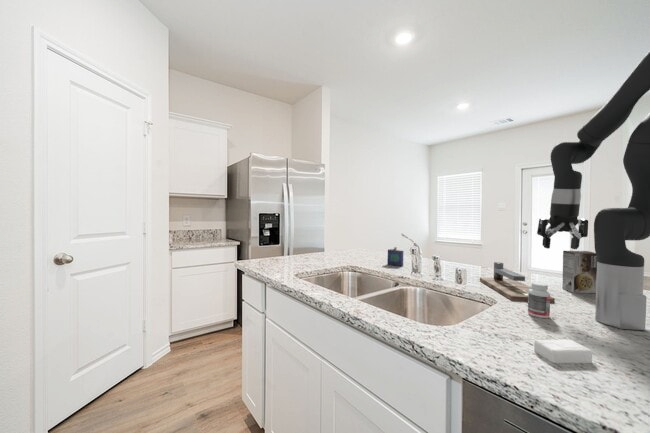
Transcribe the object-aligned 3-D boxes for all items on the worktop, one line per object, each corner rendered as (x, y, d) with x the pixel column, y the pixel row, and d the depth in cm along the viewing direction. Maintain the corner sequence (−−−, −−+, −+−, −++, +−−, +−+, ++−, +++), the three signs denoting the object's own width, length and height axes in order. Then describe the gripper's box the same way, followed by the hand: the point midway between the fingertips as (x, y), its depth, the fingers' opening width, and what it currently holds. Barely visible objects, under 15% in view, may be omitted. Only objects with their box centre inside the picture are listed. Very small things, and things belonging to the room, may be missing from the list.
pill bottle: (551, 319, 82) (552, 287, 81) (529, 316, 84) (530, 284, 84) (547, 314, 86) (548, 283, 86) (526, 310, 89) (527, 280, 89)
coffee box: (584, 289, 115) (586, 250, 115) (598, 294, 109) (599, 253, 108) (561, 288, 116) (562, 250, 115) (573, 293, 109) (574, 252, 109)
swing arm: (524, 289, 107) (525, 271, 107) (513, 289, 108) (513, 270, 107) (501, 278, 126) (501, 262, 125) (491, 277, 126) (492, 262, 126)
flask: (403, 265, 160) (404, 247, 160) (402, 266, 157) (402, 247, 157) (388, 264, 164) (388, 246, 164) (386, 265, 162) (386, 246, 162)
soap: (570, 351, 64) (570, 338, 64) (594, 364, 58) (594, 350, 58) (532, 351, 64) (532, 338, 63) (553, 365, 58) (553, 351, 58)
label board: (554, 302, 97) (554, 297, 97) (511, 300, 99) (511, 295, 99) (512, 282, 125) (512, 278, 125) (479, 280, 127) (479, 277, 127)
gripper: (549, 203, 92) (544, 250, 94) (597, 203, 90) (591, 251, 92) (535, 201, 99) (531, 245, 101) (580, 201, 97) (575, 246, 99)
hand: (560, 248), depth 96 cm, fingers open, 8 cm apart
